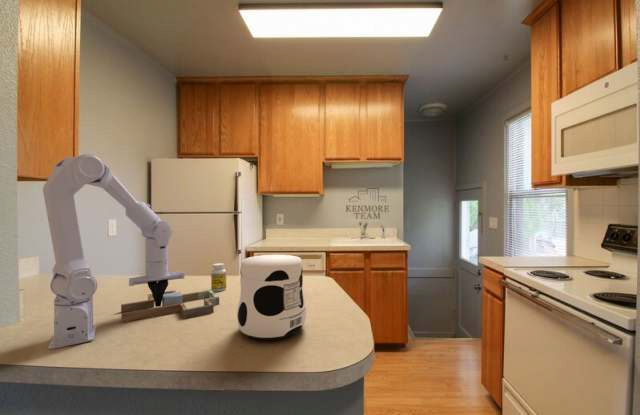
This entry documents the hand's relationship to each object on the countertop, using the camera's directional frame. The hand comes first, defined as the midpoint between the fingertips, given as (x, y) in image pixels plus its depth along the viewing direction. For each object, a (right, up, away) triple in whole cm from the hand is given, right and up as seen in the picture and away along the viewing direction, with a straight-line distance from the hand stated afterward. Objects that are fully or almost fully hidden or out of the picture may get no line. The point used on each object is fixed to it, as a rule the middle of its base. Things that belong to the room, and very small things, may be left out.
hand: (158, 305), depth 89 cm
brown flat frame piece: (+3, -1, +2) cm, 4 cm away
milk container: (+37, -2, -14) cm, 39 cm away
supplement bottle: (+11, -1, +22) cm, 24 cm away
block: (+3, -1, +2) cm, 4 cm away
